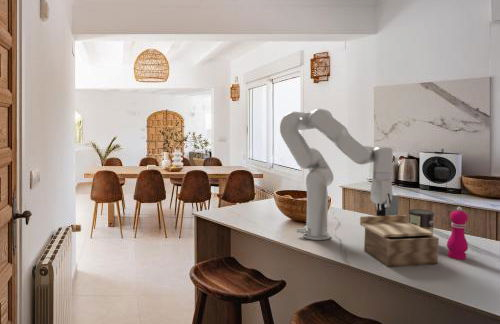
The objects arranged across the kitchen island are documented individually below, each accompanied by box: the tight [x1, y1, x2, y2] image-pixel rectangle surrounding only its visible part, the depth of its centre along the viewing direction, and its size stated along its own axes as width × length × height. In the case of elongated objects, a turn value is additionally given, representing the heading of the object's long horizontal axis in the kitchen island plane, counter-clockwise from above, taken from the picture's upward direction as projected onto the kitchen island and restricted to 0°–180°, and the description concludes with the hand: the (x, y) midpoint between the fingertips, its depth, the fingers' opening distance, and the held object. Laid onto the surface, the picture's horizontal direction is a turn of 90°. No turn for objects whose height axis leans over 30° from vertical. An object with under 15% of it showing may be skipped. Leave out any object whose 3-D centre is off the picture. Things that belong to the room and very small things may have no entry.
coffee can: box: [408, 208, 435, 236], centre depth 166 cm, size 10×10×14 cm
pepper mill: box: [446, 206, 469, 260], centre depth 147 cm, size 7×7×20 cm
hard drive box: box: [376, 190, 400, 216], centre depth 180 cm, size 16×8×20 cm, turn 168°
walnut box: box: [363, 227, 440, 268], centre depth 147 cm, size 20×18×10 cm
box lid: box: [359, 214, 434, 237], centre depth 150 cm, size 20×18×4 cm
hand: (380, 218), depth 160 cm, fingers closed
